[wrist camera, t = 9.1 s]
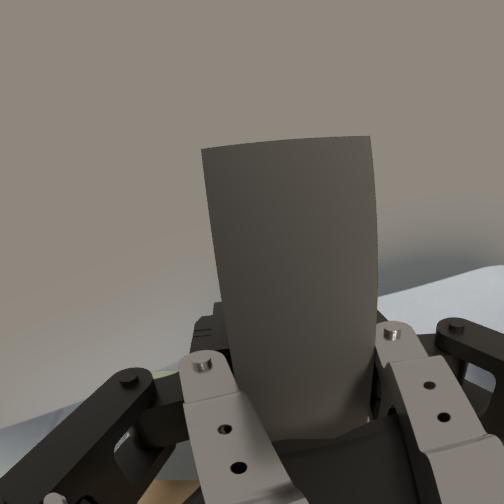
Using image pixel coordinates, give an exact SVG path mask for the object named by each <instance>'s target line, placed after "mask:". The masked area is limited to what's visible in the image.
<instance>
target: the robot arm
mask: <svg viewBox="0 0 504 504" xmlns="http://www.w3.org/2000/svg"><path fill="white" fill-rule="evenodd" d="M468 363H471V364H473V365H476V366H478V367H480V368H482V369H484V370H486V371H489V372H490V373H492V374H493V375H494V377H495V379H496V386H495V389H494V392H493V393H491V392H489V391H487V390H485V389H483V388H481V387H479V386H477V385H475V384H473V383H471V382H469V381H467V380H465V379H464V378H465V375H466V371H467V367H468ZM178 369H179V371H178V372H176V373H174V374H171V375H168V376H165V377H161V378H157V379H153V376H152V373H151V372H150V371H148V370H147V369H144V368H128V369H124V370H121V371H119V372H117V373H115V374H114V375H113V376H112V377H111V378H110V379H108V380H107V381H106V382H105V383H104V384H103V385H102V386H101V387H99V388H98V389H97V390H96V391H95V392H94V393H93V394H92V395H91V396H90V397H89V398H87V399H86V400H85V401H84V402H83V403H82V404H81V405H80V406H79V407H78V408H77V409H75V410H74V411H73V412H72V413H71V414H70V415H69V416H68V417H67V418H66V419H65V420H63V421H62V422H61V423H60V424H59V425H58V426H57V427H56V428H55V429H54V430H53V431H51V432H50V433H49V434H48V435H47V436H46V437H45V438H44V439H43V440H42V441H41V442H39V443H38V444H37V445H36V446H35V447H34V448H33V449H32V450H31V451H30V452H29V453H28V454H26V455H25V456H24V457H23V458H22V459H21V460H20V461H19V462H18V463H17V464H16V465H14V466H13V467H12V468H11V469H10V470H9V471H8V472H7V473H6V474H5V475H4V476H3V477H1V478H0V504H137V503H138V501H139V500H140V499H141V497H142V496H143V494H144V493H145V492H146V490H147V489H148V487H149V486H150V484H151V483H152V482H153V480H154V479H155V477H156V476H157V474H158V473H159V472H160V470H161V469H162V467H163V466H164V464H165V463H166V461H167V460H168V459H169V457H170V456H171V454H172V453H173V451H174V450H175V448H176V443H180V442H183V441H187V440H190V442H191V447H192V451H193V456H194V460H195V464H196V468H197V473H198V477H199V481H200V486H199V487H198V488H197V489H196V490H195V491H194V492H193V493H192V494H191V495H190V496H189V497H188V498H187V499H186V500H185V501H184V502H183V503H182V504H504V334H502V333H500V332H497V331H495V330H492V329H489V328H487V327H484V326H482V325H479V324H476V323H474V322H471V321H468V320H466V319H462V318H454V317H453V318H446V319H443V320H441V321H439V322H438V324H437V327H436V334H421V335H416V334H415V332H414V330H413V329H412V327H411V326H409V325H408V324H406V323H403V322H398V321H388V320H387V319H386V318H385V317H384V316H383V315H382V314H381V313H380V312H379V311H378V310H377V324H376V342H375V356H374V368H373V379H372V389H371V398H370V405H369V413H368V417H369V422H368V423H366V424H364V425H362V426H360V427H358V428H355V429H353V430H351V431H349V432H347V433H345V434H343V435H341V436H338V437H336V438H329V439H285V440H279V441H272V442H270V440H269V438H268V436H267V434H266V432H265V430H264V428H263V426H262V424H261V422H260V420H259V418H258V416H257V414H256V412H255V410H254V408H253V406H252V404H251V402H250V400H249V398H248V395H247V393H246V392H245V390H239V388H238V386H237V383H236V381H235V377H234V371H233V365H232V360H231V354H230V348H229V342H228V336H227V330H226V324H225V318H224V312H223V305H222V302H215V303H214V308H213V315H211V316H202V317H201V318H200V319H199V320H198V321H197V322H196V323H195V327H194V332H193V338H192V343H191V348H190V354H188V355H186V356H185V357H184V358H182V359H181V360H180V362H179V364H178ZM127 431H128V433H129V437H128V438H127V439H126V440H125V441H124V442H123V444H122V445H121V446H120V447H119V448H118V449H117V451H116V452H115V453H114V448H115V445H116V444H117V442H118V441H119V440H120V439H121V438H122V436H123V435H124V434H125V433H126V432H127Z"/></svg>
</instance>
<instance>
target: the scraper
mask: <svg viewBox="0 0 504 504" xmlns="http://www.w3.org/2000/svg"><path fill="white" fill-rule="evenodd" d="M201 153H202V161H203V170H204V178H205V185H206V193H207V201H208V209H209V216H210V224H211V231H212V238H213V245H214V252H215V259H216V266H217V273H218V279H219V286H220V292H221V299H222V305H223V312H224V318H225V324H226V330H227V336H228V342H229V348H230V354H231V360H232V365H233V371H234V377H235V381H236V383H237V386H238V388H239V390H245V392H246V393H247V395H248V398H249V400H250V402H251V404H252V406H253V408H254V410H255V412H256V414H257V416H258V418H259V420H260V422H261V424H262V426H263V428H264V430H265V432H266V434H267V436H268V438H269V440H270V442H272V441H279V440H285V439H329V438H336V437H338V436H341V435H343V434H345V433H347V432H349V431H351V430H353V429H355V428H358V427H360V426H362V425H364V424H366V423H368V422H369V417H368V413H369V405H370V398H371V389H372V379H373V368H374V356H375V342H376V324H377V294H378V292H377V291H378V247H377V246H378V244H377V217H376V216H377V215H376V197H375V183H374V171H373V159H372V150H371V140H370V136H348V137H323V138H305V139H292V140H291V139H290V140H277V141H266V142H256V143H246V144H237V145H229V146H221V147H213V148H207V149H201ZM155 480H199V477H198V473H197V468H196V464H195V460H194V456H193V451H192V447H191V442H190V440H187V441H183V442H180V443H176V448H175V450H174V451H173V453H172V454H171V456H170V457H169V459H168V460H167V461H166V463H165V464H164V466H163V467H162V469H161V470H160V472H159V473H158V474H157V476H156V477H155Z"/></svg>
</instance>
